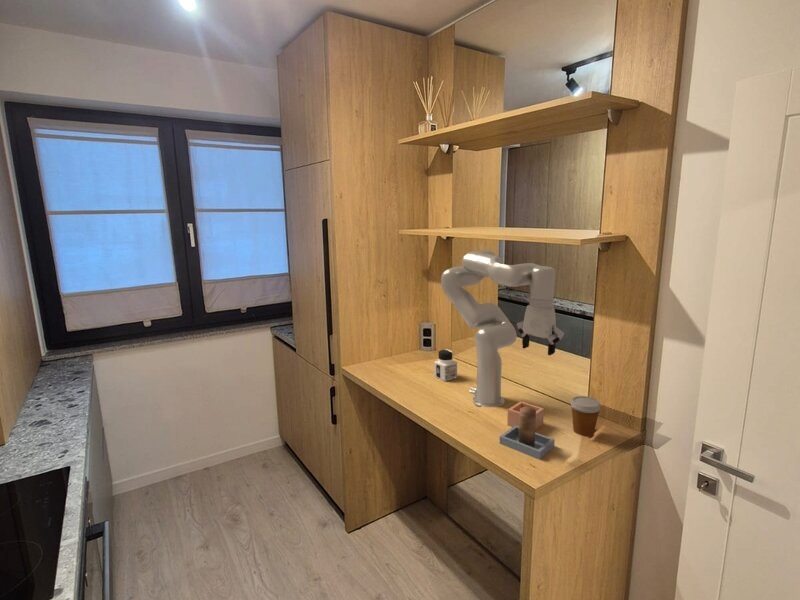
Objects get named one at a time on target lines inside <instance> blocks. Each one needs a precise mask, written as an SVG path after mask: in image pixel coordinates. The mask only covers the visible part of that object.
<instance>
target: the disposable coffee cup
mask: <svg viewBox="0 0 800 600" xmlns="http://www.w3.org/2000/svg"><path fill="white" fill-rule="evenodd" d="M570 405H571V411H572V412H571V415H572V428H573V432H574V433H575V434H577V435H579V436H582V437H588V439H591V438H594V434H595V432H596V431H595V430H596V427H597V421H598V419H599V418H598V417H599V413H600V410H601V408H602V407H601V403H600V401H599V400H598V399H596V398H594V397H591V396H587V395H586V396H585V395H577V396H574V397H573V398H571V400H570Z"/></svg>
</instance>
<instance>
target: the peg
mask: <svg viewBox="0 0 800 600" xmlns="http://www.w3.org/2000/svg"><path fill="white" fill-rule="evenodd" d="M535 424H536V410H535V409H533V408H530V407H522V408H520V415H519V442H520V443H523V444H525V445H528V446H531V447H533V448H534V446H535V433H536V430H535Z"/></svg>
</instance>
